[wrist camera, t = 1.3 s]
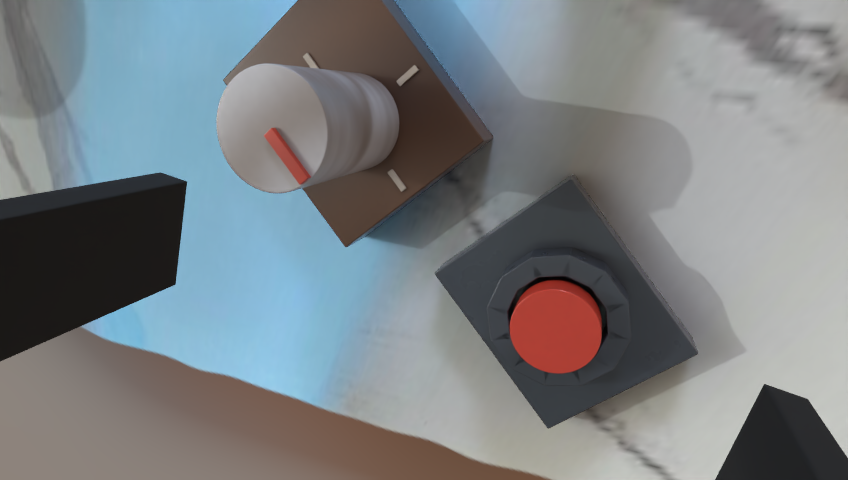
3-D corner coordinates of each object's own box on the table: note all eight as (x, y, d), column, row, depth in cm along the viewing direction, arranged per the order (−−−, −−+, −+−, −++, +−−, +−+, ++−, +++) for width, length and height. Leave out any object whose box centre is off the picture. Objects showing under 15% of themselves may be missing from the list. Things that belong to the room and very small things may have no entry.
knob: (295, 113, 34) (189, 118, 25) (360, 51, 32) (269, 33, 23) (349, 188, 34) (263, 218, 25) (418, 131, 32) (349, 143, 23)
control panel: (250, 81, 38) (220, 79, 35) (366, -38, 34) (343, -52, 31) (364, 237, 38) (344, 248, 35) (494, 137, 34) (483, 141, 31)
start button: (497, 307, 32) (492, 318, 31) (568, 263, 30) (566, 272, 29) (546, 374, 32) (543, 388, 31) (619, 334, 31) (620, 347, 29)
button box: (443, 263, 37) (425, 282, 33) (573, 173, 33) (569, 183, 29) (551, 411, 37) (545, 446, 33) (693, 338, 33) (704, 368, 29)
